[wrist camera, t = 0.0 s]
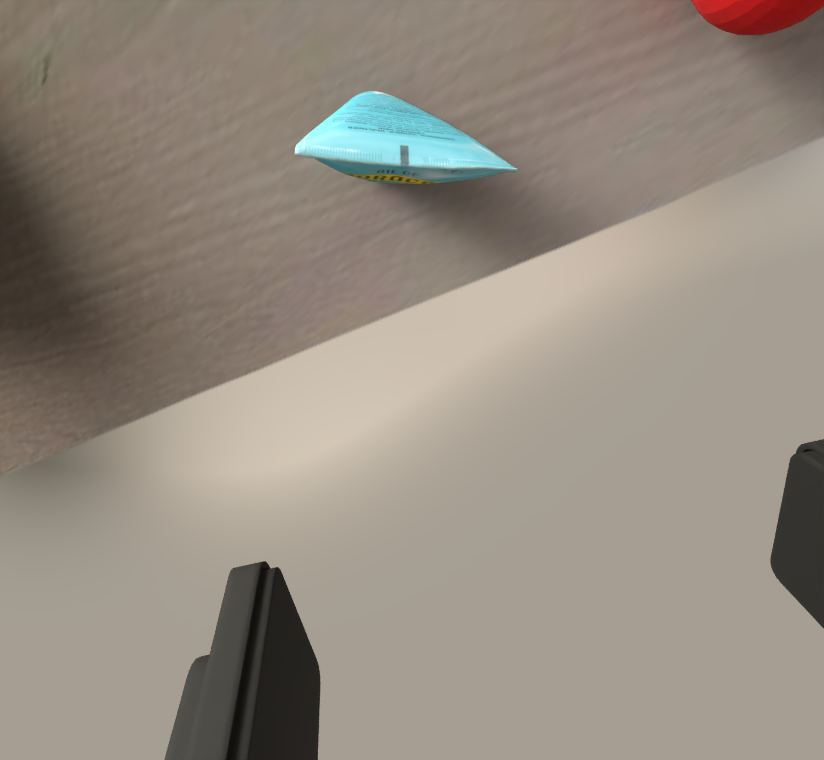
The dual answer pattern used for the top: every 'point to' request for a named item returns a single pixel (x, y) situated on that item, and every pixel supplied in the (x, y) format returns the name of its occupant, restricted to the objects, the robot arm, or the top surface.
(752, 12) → the ornament
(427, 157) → the tube
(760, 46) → the top surface
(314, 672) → the robot arm
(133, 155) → the top surface
